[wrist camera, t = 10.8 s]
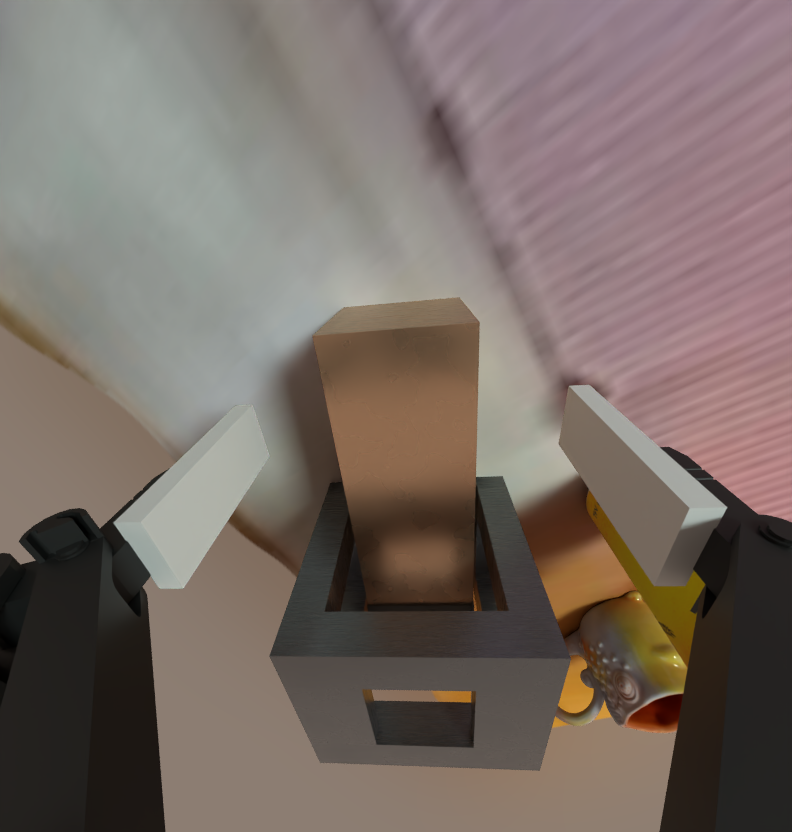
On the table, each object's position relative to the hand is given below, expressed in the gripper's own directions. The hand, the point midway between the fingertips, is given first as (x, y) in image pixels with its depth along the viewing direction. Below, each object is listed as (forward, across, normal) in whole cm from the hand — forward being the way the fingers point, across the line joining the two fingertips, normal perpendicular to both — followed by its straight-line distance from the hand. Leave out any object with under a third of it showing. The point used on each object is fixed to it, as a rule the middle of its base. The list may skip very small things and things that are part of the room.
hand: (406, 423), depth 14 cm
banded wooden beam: (+5, 0, -8) cm, 10 cm away
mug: (+5, +14, -24) cm, 29 cm away
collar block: (+5, 0, -13) cm, 14 cm away
